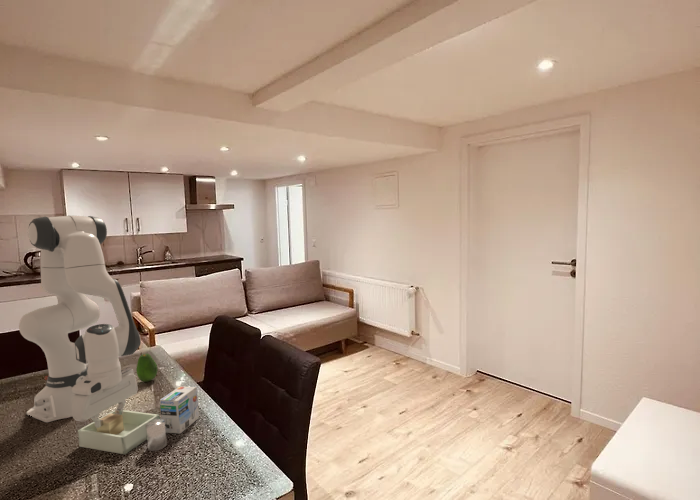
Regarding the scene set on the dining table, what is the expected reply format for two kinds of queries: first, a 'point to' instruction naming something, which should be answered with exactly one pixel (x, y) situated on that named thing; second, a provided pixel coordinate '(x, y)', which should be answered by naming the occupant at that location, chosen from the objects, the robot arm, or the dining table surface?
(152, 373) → the avocado
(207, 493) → the dining table surface
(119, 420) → the cube
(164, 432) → the cylinder
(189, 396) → the light bulb box
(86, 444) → the tote
